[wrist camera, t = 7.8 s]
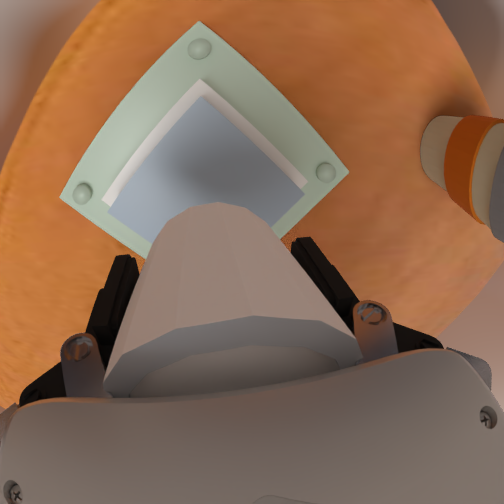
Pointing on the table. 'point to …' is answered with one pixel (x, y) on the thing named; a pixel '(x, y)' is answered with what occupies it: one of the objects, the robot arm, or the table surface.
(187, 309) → the white tapered cup
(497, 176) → the reusable coffee cup
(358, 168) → the table surface
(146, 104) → the stepped tiered stack
